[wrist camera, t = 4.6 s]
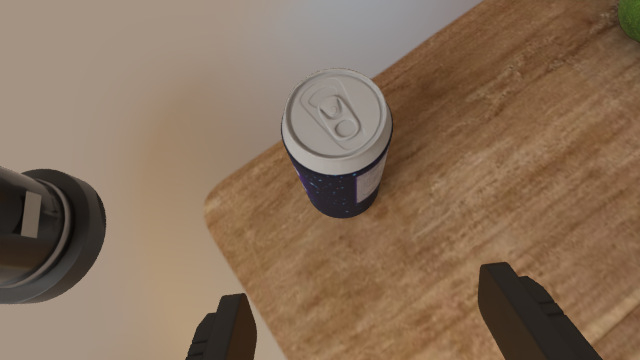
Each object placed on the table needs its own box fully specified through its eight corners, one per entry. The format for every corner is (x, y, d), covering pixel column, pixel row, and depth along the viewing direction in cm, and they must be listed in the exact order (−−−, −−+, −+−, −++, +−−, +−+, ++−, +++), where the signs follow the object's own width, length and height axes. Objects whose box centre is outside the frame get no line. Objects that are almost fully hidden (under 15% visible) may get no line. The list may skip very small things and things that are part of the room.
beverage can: (354, 141, 29) (354, 42, 17) (392, 197, 27) (420, 128, 16) (294, 174, 28) (255, 96, 17) (329, 234, 26) (312, 191, 15)
